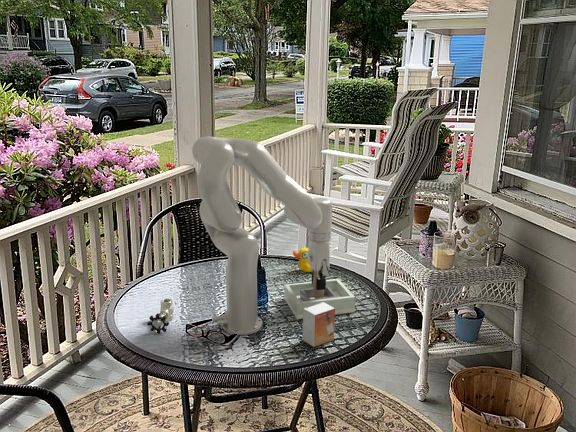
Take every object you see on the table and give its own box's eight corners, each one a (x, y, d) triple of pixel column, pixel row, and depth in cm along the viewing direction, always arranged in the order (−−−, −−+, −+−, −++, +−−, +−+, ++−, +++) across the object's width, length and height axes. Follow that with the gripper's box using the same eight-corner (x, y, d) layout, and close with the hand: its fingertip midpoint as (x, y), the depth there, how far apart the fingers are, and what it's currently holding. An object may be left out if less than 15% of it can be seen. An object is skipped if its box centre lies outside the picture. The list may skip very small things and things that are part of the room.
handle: (329, 300, 179) (330, 258, 175) (310, 301, 179) (311, 259, 175) (326, 294, 184) (327, 253, 180) (308, 295, 183) (308, 254, 179)
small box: (313, 348, 155) (314, 315, 152) (302, 340, 159) (302, 308, 156) (334, 340, 159) (335, 308, 157) (322, 332, 164) (323, 301, 161)
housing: (297, 319, 172) (297, 303, 171) (284, 298, 187) (284, 284, 186) (354, 312, 177) (355, 297, 176) (337, 292, 192) (338, 278, 191)
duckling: (293, 274, 209) (293, 250, 206) (292, 269, 214) (292, 246, 211) (322, 273, 210) (322, 249, 207) (320, 268, 215) (320, 245, 212)
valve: (159, 316, 174) (147, 333, 163) (158, 297, 173) (146, 314, 161) (179, 316, 174) (168, 334, 162) (178, 298, 172) (167, 315, 161)
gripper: (301, 228, 182) (300, 278, 187) (317, 244, 166) (315, 298, 171) (322, 227, 184) (321, 276, 189) (339, 242, 168) (337, 295, 173)
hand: (318, 286), depth 180 cm, fingers open, 4 cm apart
